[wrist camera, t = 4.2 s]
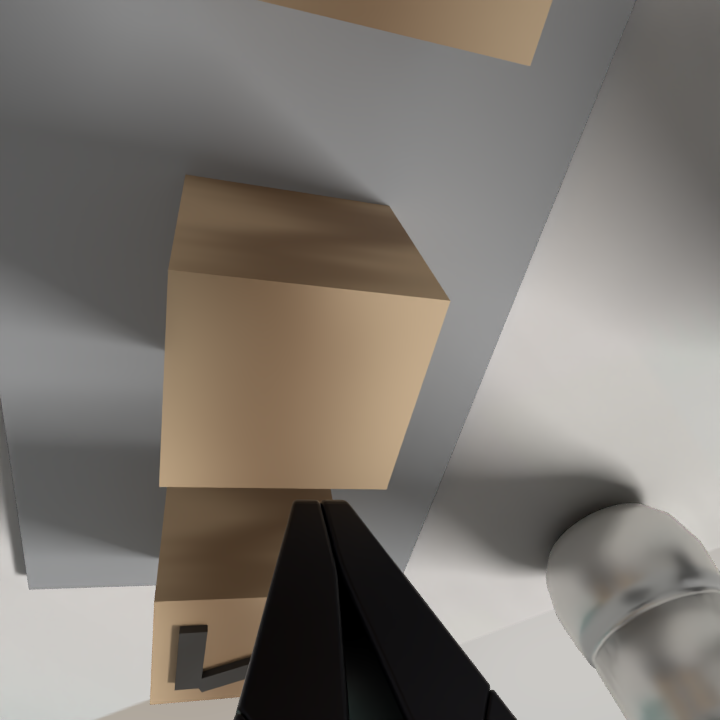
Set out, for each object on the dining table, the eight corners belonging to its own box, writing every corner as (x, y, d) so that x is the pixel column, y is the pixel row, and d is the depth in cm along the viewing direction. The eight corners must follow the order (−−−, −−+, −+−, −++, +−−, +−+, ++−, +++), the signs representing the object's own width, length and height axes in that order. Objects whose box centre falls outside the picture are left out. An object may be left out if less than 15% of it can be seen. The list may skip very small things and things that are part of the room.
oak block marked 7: (325, 462, 20) (352, 600, 15) (301, 556, 22) (318, 696, 18) (170, 458, 18) (153, 609, 14) (164, 559, 21) (149, 712, 17)
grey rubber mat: (745, -308, 11) (765, -319, 10) (398, 567, 25) (401, 577, 24) (-155, -761, 7) (-178, -803, 7) (32, 577, 21) (29, 589, 20)
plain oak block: (389, 206, 15) (450, 300, 11) (349, 365, 17) (386, 489, 13) (185, 174, 13) (168, 269, 9) (175, 352, 16) (159, 486, 12)
